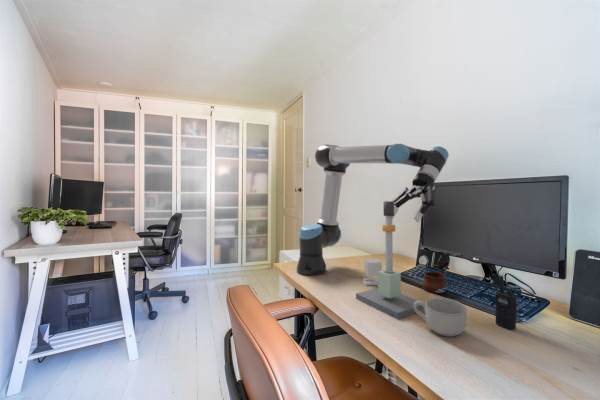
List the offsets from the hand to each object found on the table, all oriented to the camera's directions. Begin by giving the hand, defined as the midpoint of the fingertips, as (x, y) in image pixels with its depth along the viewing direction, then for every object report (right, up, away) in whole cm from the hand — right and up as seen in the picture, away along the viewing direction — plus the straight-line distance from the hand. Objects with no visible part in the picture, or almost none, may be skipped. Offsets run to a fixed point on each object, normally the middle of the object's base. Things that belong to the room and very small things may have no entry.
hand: (401, 219), depth 107 cm
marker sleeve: (-6, -26, -5) cm, 28 cm away
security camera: (-7, -29, +18) cm, 35 cm away
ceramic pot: (+16, -30, +8) cm, 35 cm away
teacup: (+2, -31, -24) cm, 39 cm away
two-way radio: (+23, -30, -23) cm, 45 cm away
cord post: (-6, -30, -5) cm, 31 cm away
